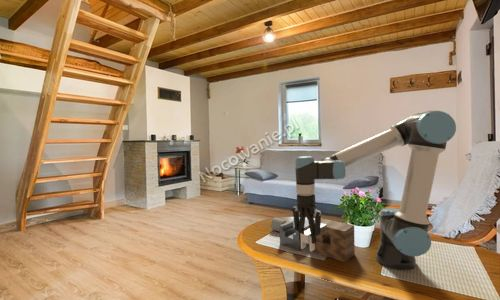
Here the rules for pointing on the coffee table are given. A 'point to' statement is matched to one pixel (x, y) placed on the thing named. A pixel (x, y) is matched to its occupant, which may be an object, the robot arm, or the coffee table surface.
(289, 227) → the v block
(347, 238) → the brown wooden box
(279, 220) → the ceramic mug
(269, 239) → the coffee table surface
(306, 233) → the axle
